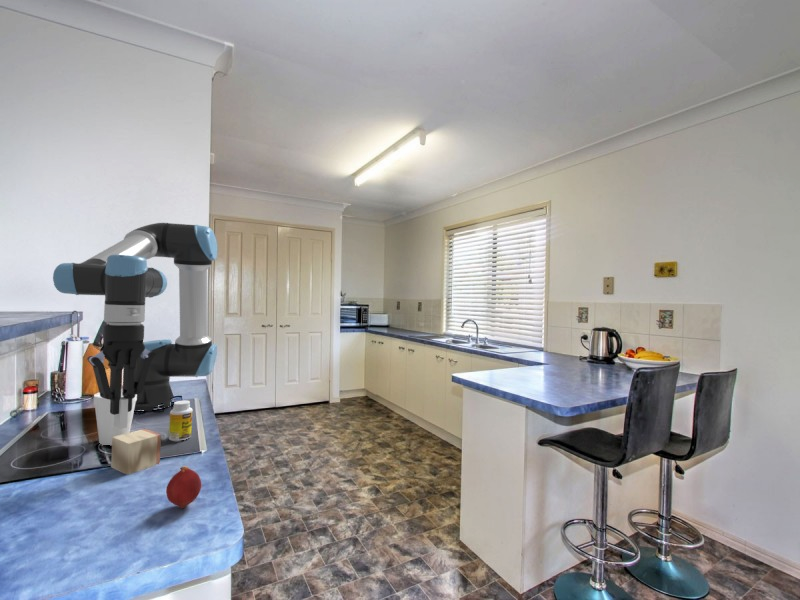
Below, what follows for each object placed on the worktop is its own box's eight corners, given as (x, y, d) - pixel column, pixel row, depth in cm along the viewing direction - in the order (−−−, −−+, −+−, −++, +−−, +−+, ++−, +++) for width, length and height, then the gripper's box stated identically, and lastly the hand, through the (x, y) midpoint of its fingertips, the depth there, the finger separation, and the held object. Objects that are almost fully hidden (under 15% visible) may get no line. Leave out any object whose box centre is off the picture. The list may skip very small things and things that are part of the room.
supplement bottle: (181, 443, 104) (183, 405, 104) (163, 440, 105) (165, 403, 105) (196, 436, 109) (197, 400, 109) (179, 434, 110) (180, 398, 110)
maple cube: (111, 467, 88) (143, 456, 95) (127, 475, 85) (159, 463, 91) (112, 437, 88) (144, 428, 95) (128, 443, 85) (161, 434, 91)
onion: (179, 497, 77) (181, 458, 77) (206, 500, 76) (208, 460, 76) (158, 513, 71) (160, 470, 71) (187, 517, 70) (189, 473, 70)
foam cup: (111, 449, 98) (113, 399, 98) (82, 445, 100) (84, 395, 100) (143, 437, 107) (145, 390, 107) (116, 433, 109) (118, 387, 109)
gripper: (98, 325, 79) (93, 439, 79) (163, 323, 90) (159, 423, 91) (82, 323, 83) (77, 431, 83) (146, 321, 94) (142, 416, 94)
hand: (120, 427), depth 87 cm, fingers closed
